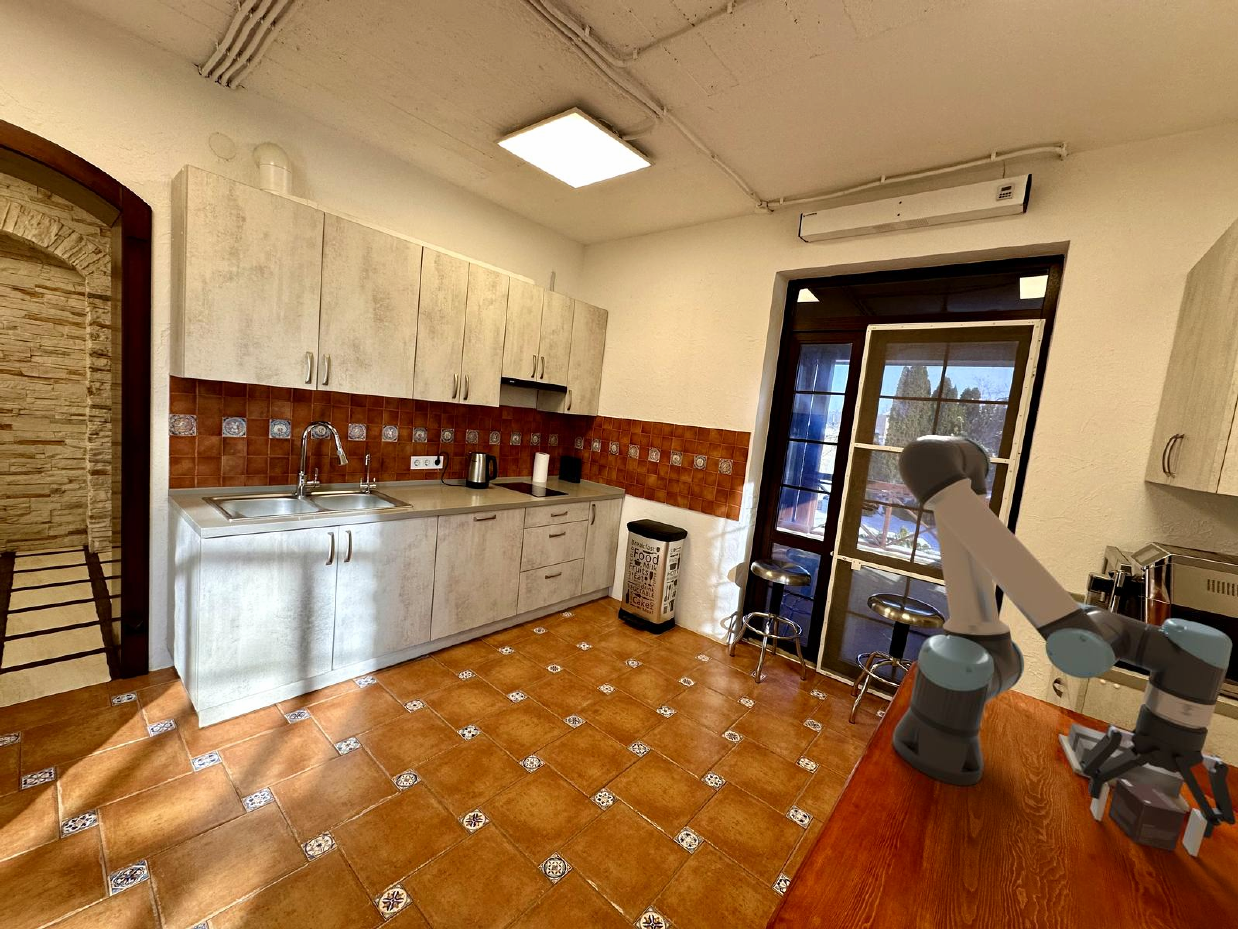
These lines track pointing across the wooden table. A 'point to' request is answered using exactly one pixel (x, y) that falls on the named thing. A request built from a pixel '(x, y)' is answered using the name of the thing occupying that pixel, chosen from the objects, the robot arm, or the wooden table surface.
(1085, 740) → the stand
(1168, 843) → the box
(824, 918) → the wooden table surface
